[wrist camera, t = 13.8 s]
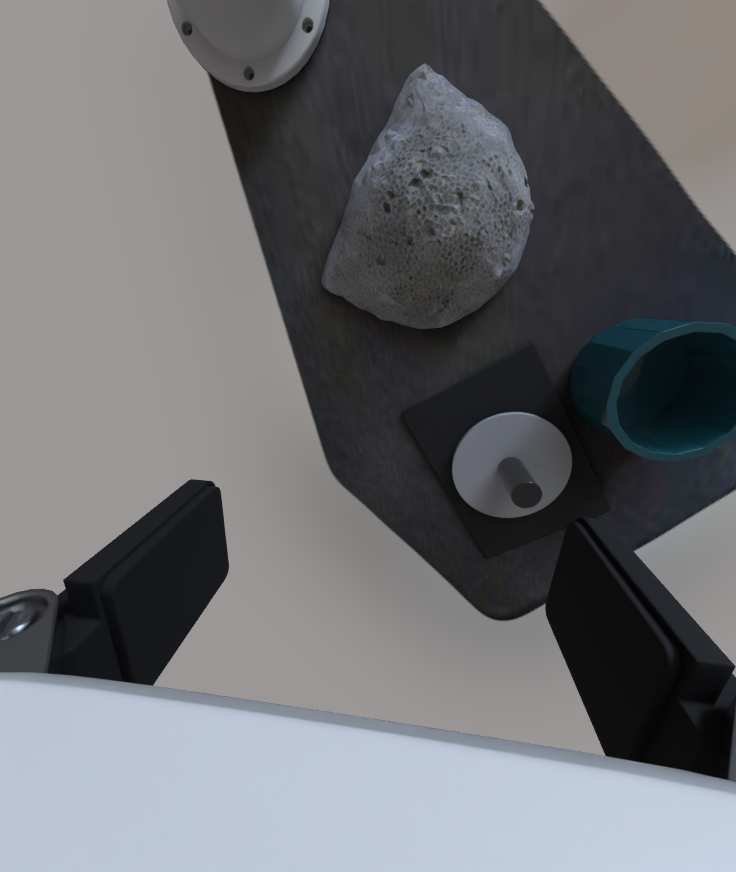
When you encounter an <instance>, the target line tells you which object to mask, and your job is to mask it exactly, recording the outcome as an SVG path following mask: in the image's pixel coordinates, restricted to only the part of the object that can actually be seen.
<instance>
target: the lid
mask: <svg viewBox="0 0 736 872" xmlns="http://www.w3.org/2000/svg"><path fill="white" fill-rule="evenodd" d="M571 468H572V455H571V450H570V447H569V444H568V442H567V440H566V438H565V437H564V435H563V434H562V433H561V432H560V431H559V429H558V428H557V427H555V426H554V425H553V424H552V423H550V422H549V421H547V420H545V419H544V418H542V417H539V416H537V415H533V414H530V413H524V412H507V413H501V414H497V415H494V416H491V417H488V418H486V419H484V420H482V421H480V422H479V423H477V424H476V425H474V426H473V427H472V428H471V429H470V430H468V432H467V433H466V434H465V435H464V436H463V437H462V439H461V440H460V441H459V443H458V445H457V447H456V449H455V452H454V455H453V459H452V476H453V480H454V484H455V486H456V489H457V491H458V492H459V494H460V496H461V497H462V498H463V499H464V500H465V501H466V502H467V503H468V504H469V505H470V506H471V507H473V508H474V509H476V510H478V511H480V512H482V513H484V514H487V515H490V516H494V517H500V518H514V517H521V516H525V515H529V514H532V513H534V512H537V511H539V510H541V509H542V508H544V507H546V506H547V505H549V504H550V503H551V502H552V501H553V500H555V499H556V498H557V497H558V495H559V494H560V493H561V492H562V490H563V489H564V487H565V486H566V484H567V482H568V479H569V477H570V474H571Z"/></svg>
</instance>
